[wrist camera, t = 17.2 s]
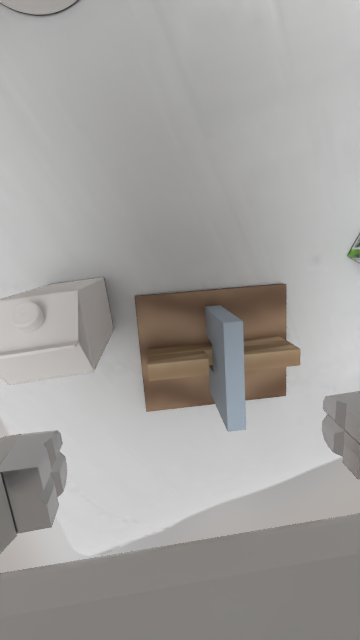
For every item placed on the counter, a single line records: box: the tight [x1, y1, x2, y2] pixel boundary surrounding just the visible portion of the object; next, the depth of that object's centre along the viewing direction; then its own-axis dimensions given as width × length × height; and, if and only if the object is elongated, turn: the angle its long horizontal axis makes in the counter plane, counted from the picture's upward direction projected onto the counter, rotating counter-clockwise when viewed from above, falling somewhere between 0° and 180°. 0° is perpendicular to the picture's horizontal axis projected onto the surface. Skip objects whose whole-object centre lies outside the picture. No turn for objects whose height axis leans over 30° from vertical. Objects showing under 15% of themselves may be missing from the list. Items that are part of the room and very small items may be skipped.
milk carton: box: [0, 277, 113, 385], centre depth 30 cm, size 7×7×19 cm
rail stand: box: [135, 284, 300, 412], centre depth 39 cm, size 16×20×7 cm
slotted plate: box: [205, 305, 246, 432], centre depth 36 cm, size 12×2×10 cm, turn 4°
